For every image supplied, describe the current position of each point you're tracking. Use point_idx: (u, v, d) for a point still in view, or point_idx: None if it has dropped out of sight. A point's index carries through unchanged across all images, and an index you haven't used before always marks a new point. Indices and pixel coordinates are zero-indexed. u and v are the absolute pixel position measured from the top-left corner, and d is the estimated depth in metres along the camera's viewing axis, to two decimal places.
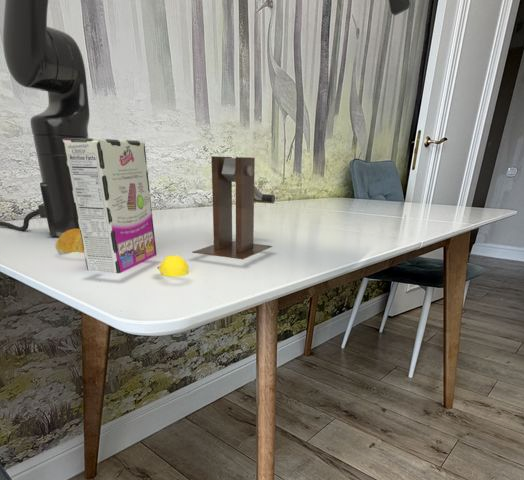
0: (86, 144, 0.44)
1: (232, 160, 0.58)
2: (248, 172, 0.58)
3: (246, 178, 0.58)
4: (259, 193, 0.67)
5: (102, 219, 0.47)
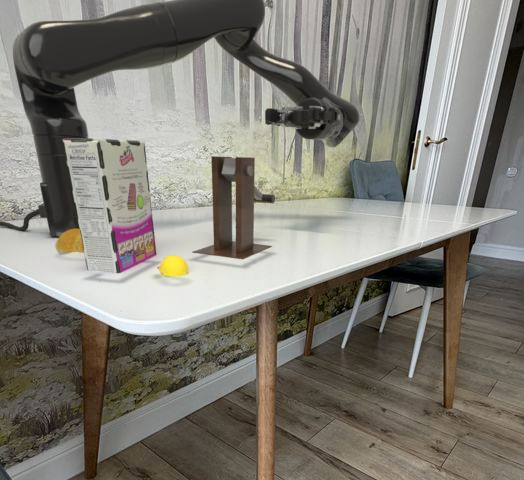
0: (86, 144, 0.44)
1: (232, 160, 0.58)
2: (248, 172, 0.58)
3: (246, 178, 0.58)
4: (259, 193, 0.67)
5: (102, 219, 0.47)
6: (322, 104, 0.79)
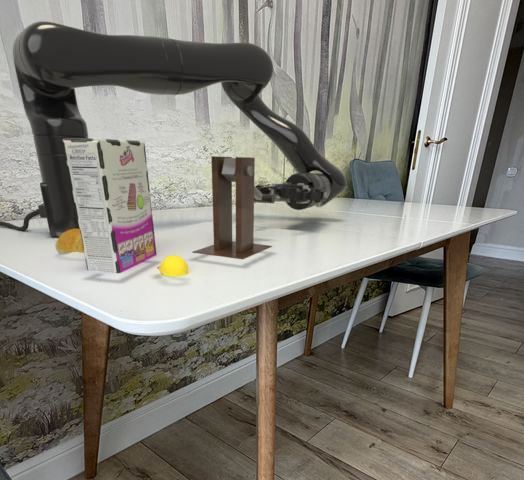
0: (86, 144, 0.44)
1: (232, 160, 0.58)
2: (248, 172, 0.58)
3: (246, 178, 0.58)
4: (259, 193, 0.67)
5: (102, 219, 0.47)
6: (309, 180, 0.83)
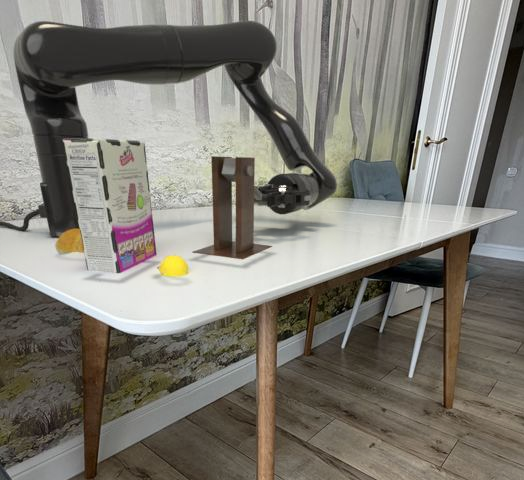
0: (86, 144, 0.44)
1: (232, 160, 0.58)
2: (248, 172, 0.58)
3: (246, 178, 0.58)
4: (259, 193, 0.67)
5: (102, 219, 0.47)
6: (294, 181, 0.75)
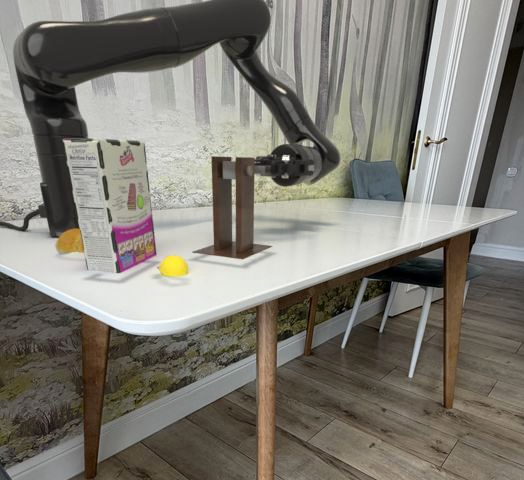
0: (86, 144, 0.44)
1: (230, 164, 0.58)
2: (248, 172, 0.58)
3: (246, 178, 0.58)
4: (262, 169, 0.66)
5: (102, 219, 0.47)
6: (297, 152, 0.74)
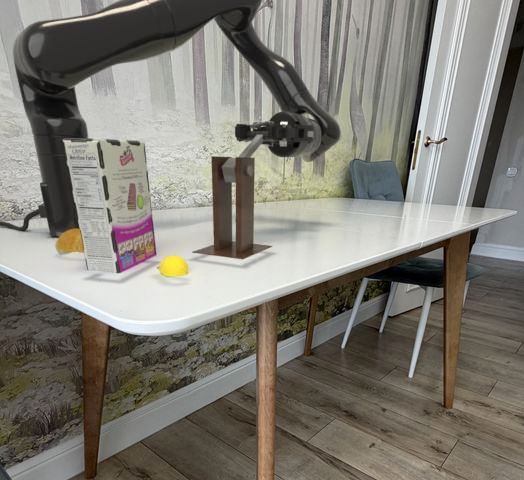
0: (86, 144, 0.44)
1: (230, 169, 0.58)
2: (248, 172, 0.58)
3: (246, 178, 0.58)
4: (259, 141, 0.64)
5: (102, 219, 0.47)
6: (296, 119, 0.70)
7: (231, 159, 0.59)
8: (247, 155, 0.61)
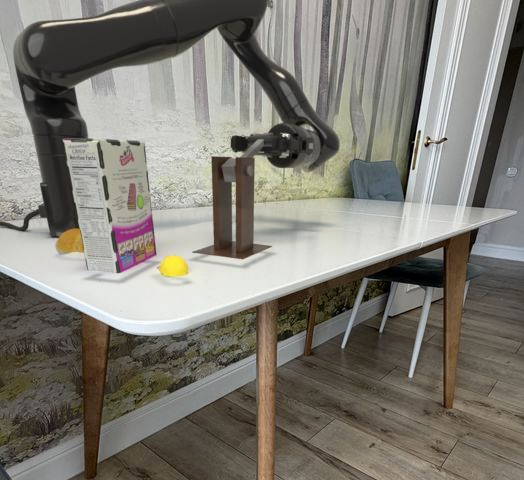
0: (86, 144, 0.44)
1: (230, 168, 0.58)
2: (248, 172, 0.58)
3: (246, 178, 0.58)
4: (260, 145, 0.64)
5: (102, 219, 0.47)
6: (294, 130, 0.71)
7: (231, 159, 0.59)
8: None
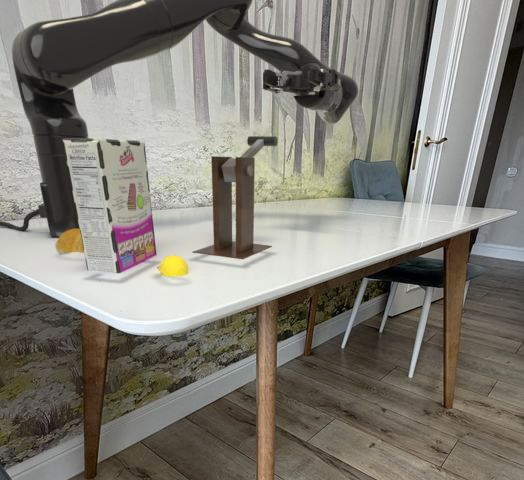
0: (87, 144, 0.44)
1: (230, 168, 0.58)
2: (248, 172, 0.58)
3: (246, 178, 0.58)
4: (260, 145, 0.64)
5: (102, 219, 0.47)
6: None
7: (231, 159, 0.59)
8: None
